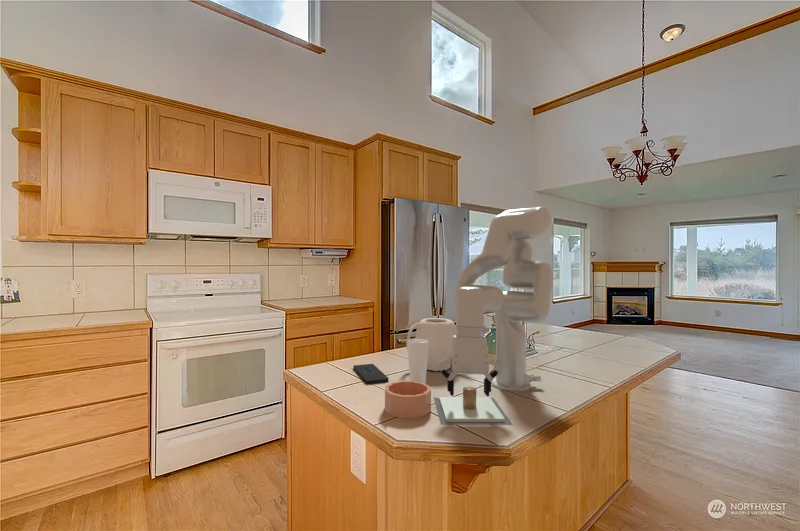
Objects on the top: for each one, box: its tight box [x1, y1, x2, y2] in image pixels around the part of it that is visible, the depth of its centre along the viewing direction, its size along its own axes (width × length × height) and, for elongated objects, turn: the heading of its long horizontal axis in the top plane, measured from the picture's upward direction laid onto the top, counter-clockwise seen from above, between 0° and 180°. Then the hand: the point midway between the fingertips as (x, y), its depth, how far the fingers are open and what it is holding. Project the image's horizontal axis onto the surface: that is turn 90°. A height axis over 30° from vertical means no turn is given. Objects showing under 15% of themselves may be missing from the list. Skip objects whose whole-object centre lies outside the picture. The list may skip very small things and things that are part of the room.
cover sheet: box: [438, 386, 505, 422], centre depth 99 cm, size 15×15×6 cm
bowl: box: [384, 380, 432, 419], centre depth 100 cm, size 13×13×6 cm
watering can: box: [405, 317, 456, 372], centre depth 141 cm, size 16×27×19 cm, turn 105°
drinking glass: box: [407, 338, 428, 384], centre depth 120 cm, size 7×7×15 cm
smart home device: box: [353, 363, 389, 385], centre depth 131 cm, size 8×2×20 cm
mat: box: [433, 397, 513, 426], centre depth 99 cm, size 18×18×1 cm
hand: (469, 394), depth 98 cm, fingers open, 9 cm apart
